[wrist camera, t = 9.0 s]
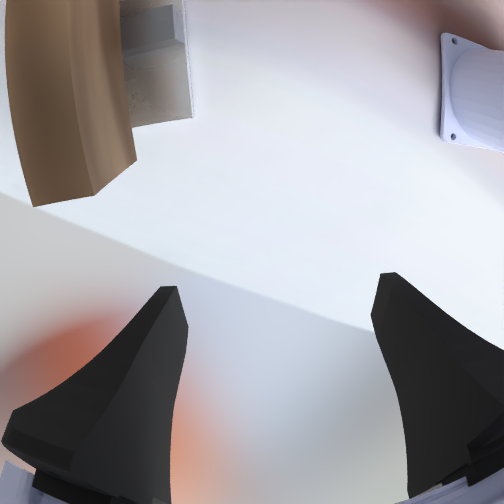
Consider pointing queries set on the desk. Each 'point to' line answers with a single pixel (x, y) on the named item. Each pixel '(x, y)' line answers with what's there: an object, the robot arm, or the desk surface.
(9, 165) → the desk surface
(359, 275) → the desk surface
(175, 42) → the balance stand
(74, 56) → the walnut rod
